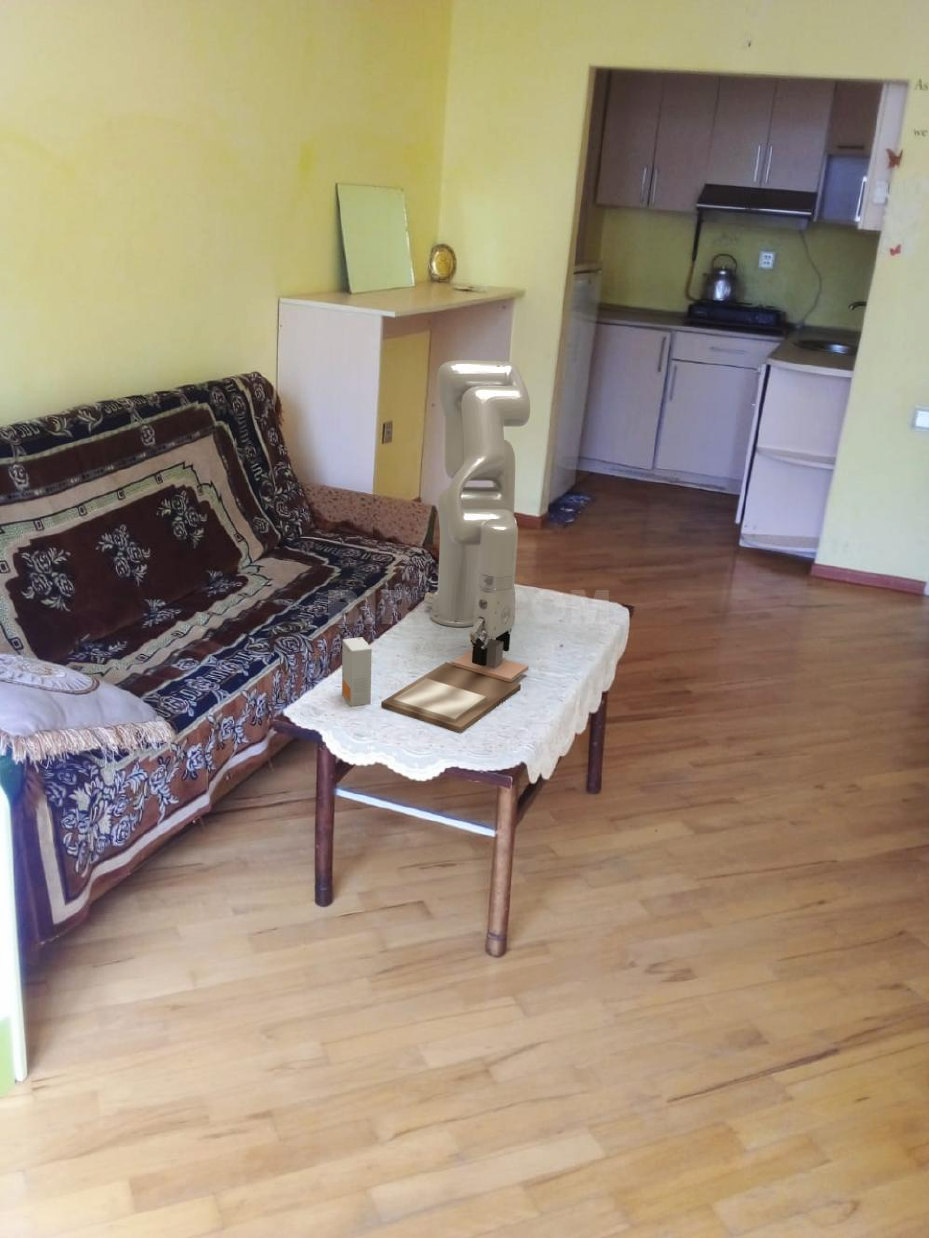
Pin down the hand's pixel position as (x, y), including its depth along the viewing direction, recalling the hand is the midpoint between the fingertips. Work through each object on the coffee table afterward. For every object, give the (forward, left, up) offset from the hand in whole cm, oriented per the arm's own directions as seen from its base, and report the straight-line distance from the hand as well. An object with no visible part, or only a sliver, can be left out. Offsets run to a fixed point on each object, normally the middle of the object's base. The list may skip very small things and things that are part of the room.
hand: (490, 656), depth 231 cm
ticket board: (0, -15, -4) cm, 15 cm away
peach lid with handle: (0, 0, -2) cm, 2 cm away
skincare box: (-15, -27, -4) cm, 31 cm away
